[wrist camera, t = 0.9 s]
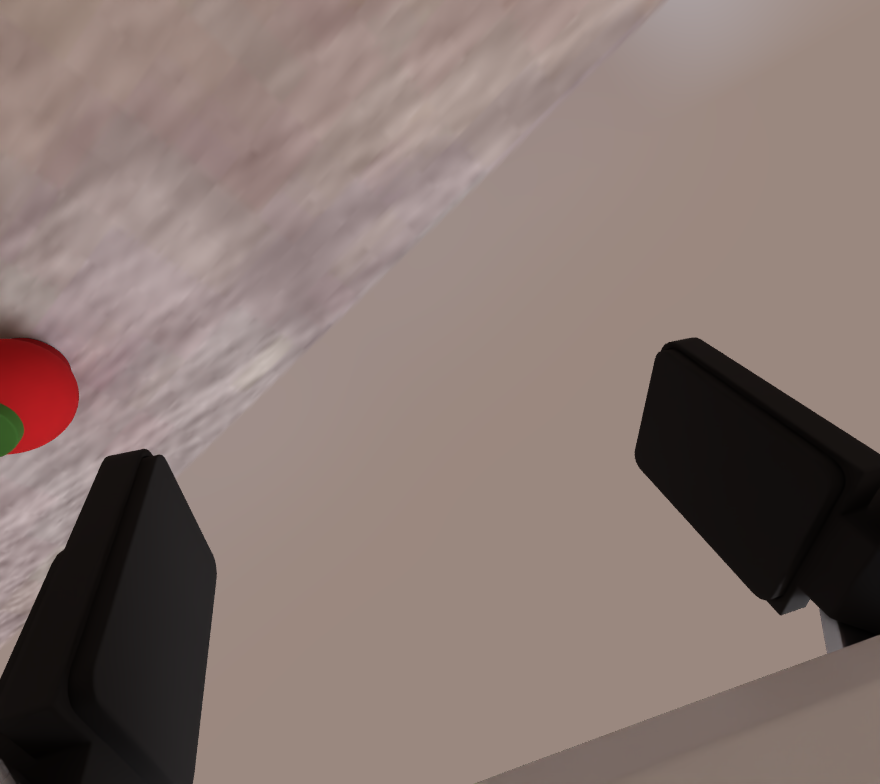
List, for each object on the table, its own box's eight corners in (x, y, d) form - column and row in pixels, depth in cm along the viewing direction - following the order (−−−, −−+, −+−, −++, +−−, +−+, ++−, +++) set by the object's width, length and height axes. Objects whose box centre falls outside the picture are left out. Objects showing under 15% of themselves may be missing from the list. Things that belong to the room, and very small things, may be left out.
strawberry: (-63, 328, 20) (-146, 391, 16) (65, 312, 21) (16, 367, 17) (-2, 420, 22) (-61, 493, 18) (110, 402, 23) (76, 468, 19)
